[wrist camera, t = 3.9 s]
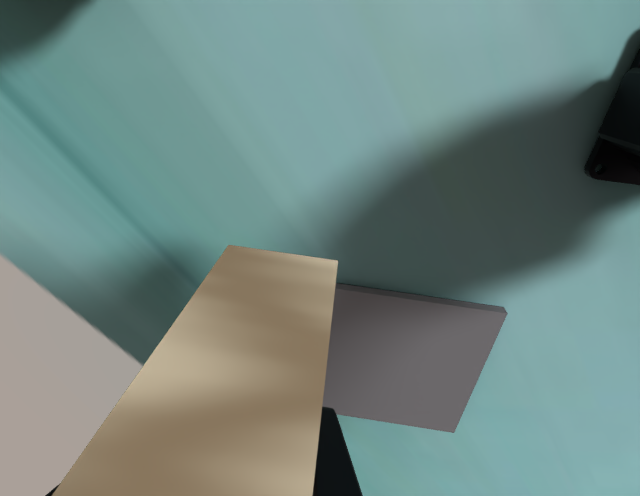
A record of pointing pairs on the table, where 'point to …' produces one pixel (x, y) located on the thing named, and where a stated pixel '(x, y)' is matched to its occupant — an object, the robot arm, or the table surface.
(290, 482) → the wooden block
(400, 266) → the table surface
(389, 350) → the mat
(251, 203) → the table surface
